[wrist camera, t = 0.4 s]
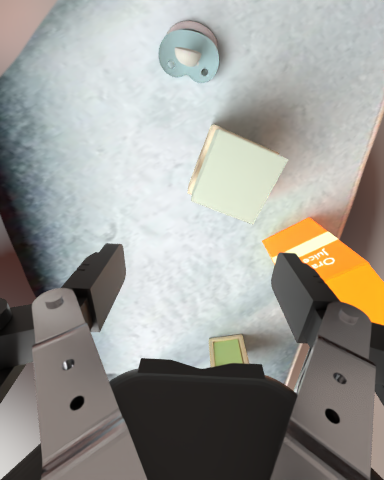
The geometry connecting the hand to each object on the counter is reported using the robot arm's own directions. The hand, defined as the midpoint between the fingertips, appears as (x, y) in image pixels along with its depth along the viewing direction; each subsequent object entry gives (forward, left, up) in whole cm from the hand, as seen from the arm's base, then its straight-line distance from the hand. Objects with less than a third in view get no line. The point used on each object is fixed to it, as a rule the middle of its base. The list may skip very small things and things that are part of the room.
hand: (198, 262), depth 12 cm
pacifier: (-14, -6, -26) cm, 30 cm away
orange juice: (+5, +21, -26) cm, 34 cm away
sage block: (-3, +4, -20) cm, 21 cm away
